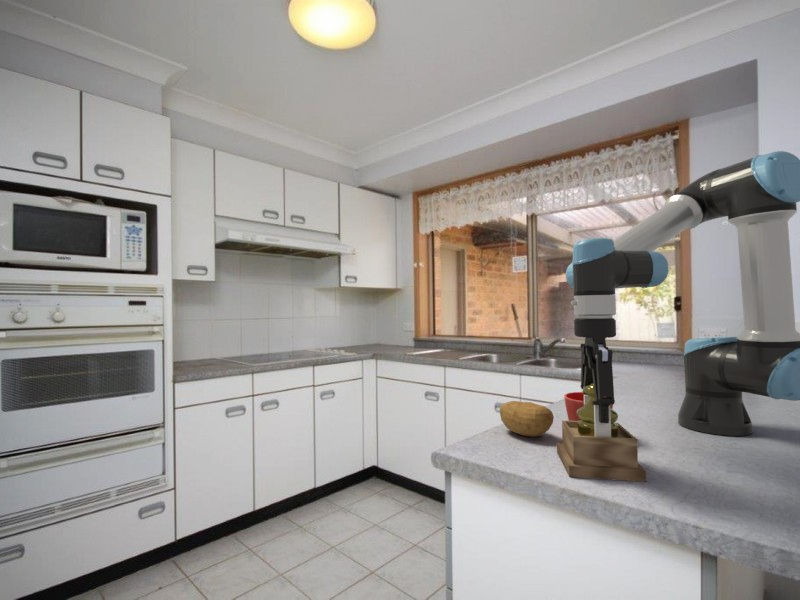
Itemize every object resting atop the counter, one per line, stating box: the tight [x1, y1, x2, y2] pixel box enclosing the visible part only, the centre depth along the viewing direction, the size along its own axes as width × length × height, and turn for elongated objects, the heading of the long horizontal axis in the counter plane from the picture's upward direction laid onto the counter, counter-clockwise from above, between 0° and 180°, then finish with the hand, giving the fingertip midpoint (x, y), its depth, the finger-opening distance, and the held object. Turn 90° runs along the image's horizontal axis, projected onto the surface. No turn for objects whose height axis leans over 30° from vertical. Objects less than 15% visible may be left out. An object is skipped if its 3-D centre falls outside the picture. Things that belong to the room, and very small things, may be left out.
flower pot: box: [563, 391, 614, 421], centre depth 99 cm, size 11×11×10 cm
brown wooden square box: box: [556, 419, 647, 482], centre depth 81 cm, size 13×13×7 cm
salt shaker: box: [577, 383, 619, 438], centre depth 81 cm, size 7×7×10 cm
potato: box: [499, 400, 554, 438], centre depth 101 cm, size 10×14×8 cm
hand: (597, 432), depth 81 cm, fingers closed on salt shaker, 7 cm apart
